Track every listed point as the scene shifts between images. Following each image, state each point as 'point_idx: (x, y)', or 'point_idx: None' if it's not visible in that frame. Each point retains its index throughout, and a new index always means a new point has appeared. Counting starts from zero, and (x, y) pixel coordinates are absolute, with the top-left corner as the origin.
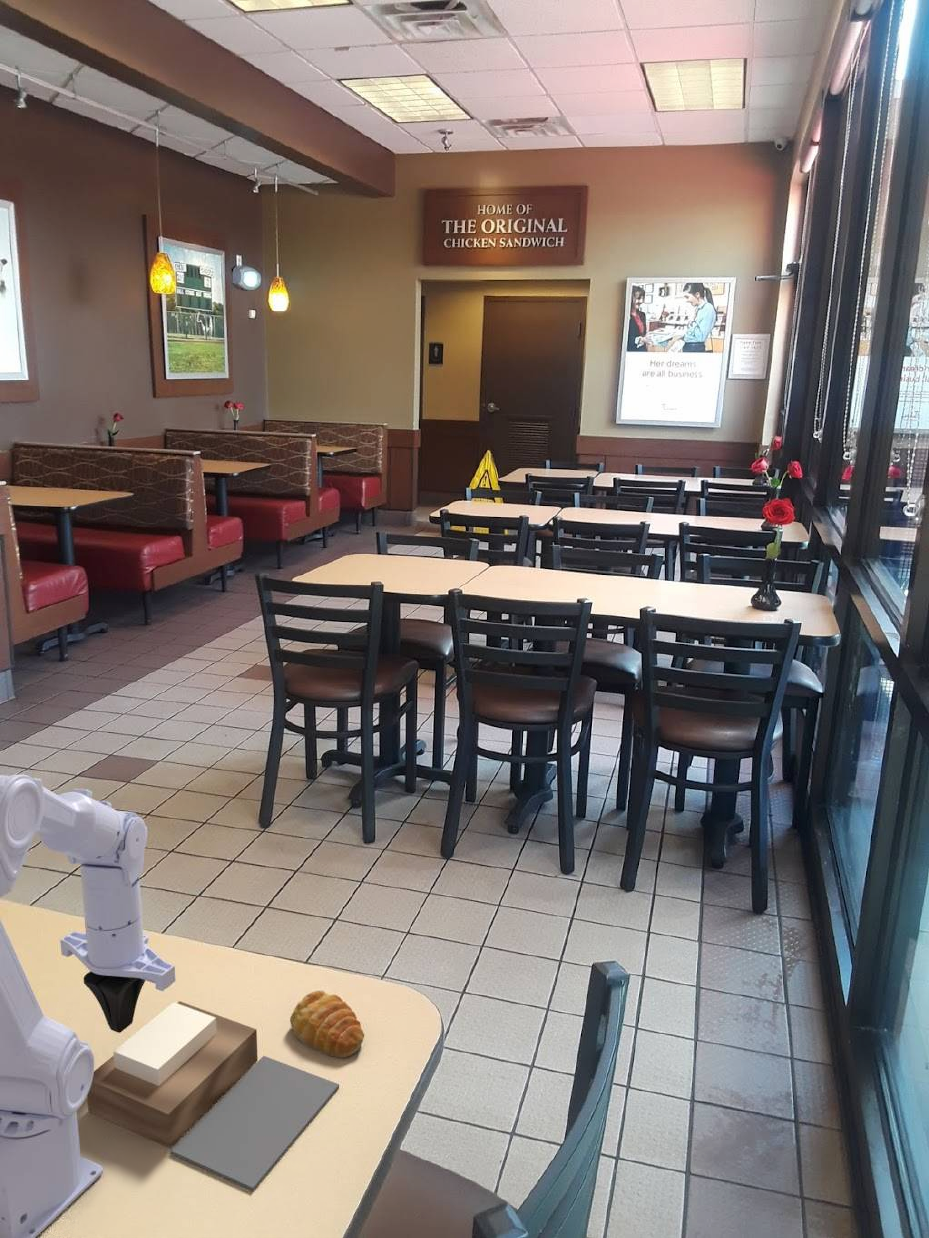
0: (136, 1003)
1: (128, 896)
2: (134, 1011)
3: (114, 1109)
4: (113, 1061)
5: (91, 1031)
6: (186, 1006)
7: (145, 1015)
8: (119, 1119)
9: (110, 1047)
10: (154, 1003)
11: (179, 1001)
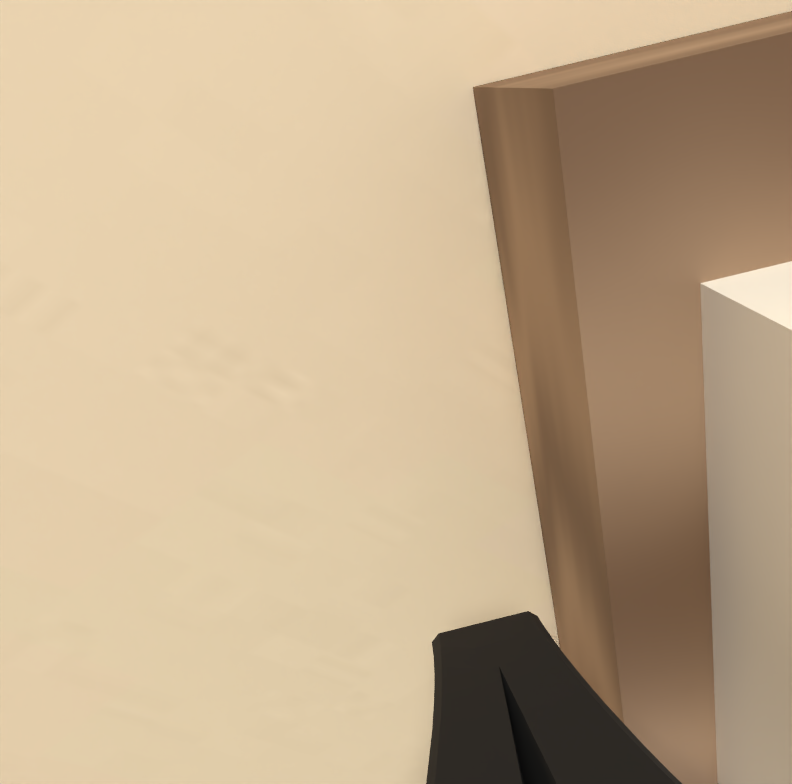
0: (631, 732)
1: None
2: (575, 671)
3: None
4: (668, 768)
5: (22, 481)
6: (678, 96)
7: (108, 156)
8: None
9: (253, 476)
10: (4, 6)
11: (556, 94)
